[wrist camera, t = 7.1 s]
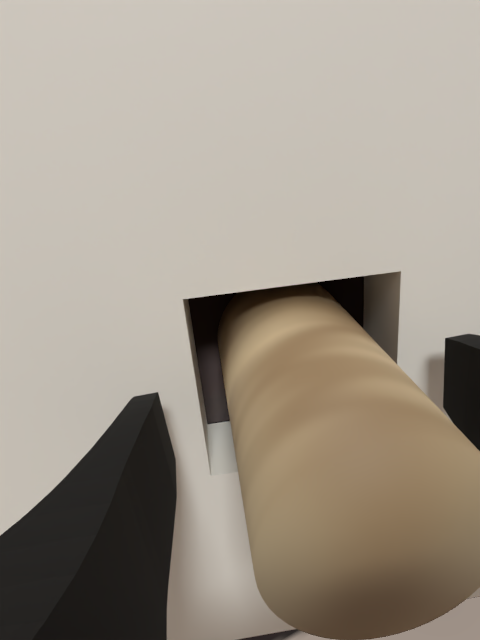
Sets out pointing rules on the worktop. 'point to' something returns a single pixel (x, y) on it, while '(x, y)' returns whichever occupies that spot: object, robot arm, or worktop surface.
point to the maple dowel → (344, 471)
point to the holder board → (219, 225)
